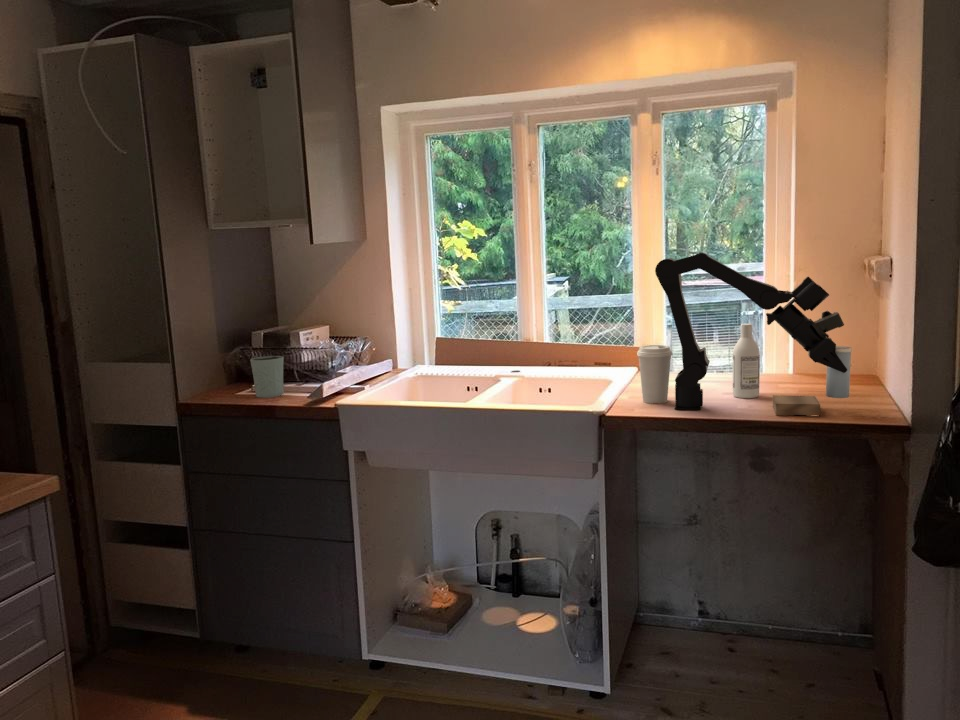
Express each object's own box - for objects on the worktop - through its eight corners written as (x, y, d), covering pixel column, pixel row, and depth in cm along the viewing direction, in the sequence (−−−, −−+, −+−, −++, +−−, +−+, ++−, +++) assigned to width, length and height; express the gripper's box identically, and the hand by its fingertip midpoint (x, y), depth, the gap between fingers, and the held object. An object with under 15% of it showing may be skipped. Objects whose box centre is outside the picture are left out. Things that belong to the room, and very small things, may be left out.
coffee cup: (666, 405, 205) (666, 350, 203) (632, 403, 210) (631, 348, 208) (677, 398, 213) (677, 345, 211) (644, 396, 218) (643, 344, 216)
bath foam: (764, 396, 211) (765, 323, 208) (746, 399, 208) (747, 326, 205) (744, 392, 217) (745, 322, 214) (727, 395, 214) (727, 324, 211)
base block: (775, 415, 189) (776, 403, 188) (772, 406, 198) (772, 395, 198) (820, 416, 186) (820, 404, 186) (814, 407, 195) (815, 395, 195)
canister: (827, 397, 188) (828, 349, 186) (824, 393, 193) (825, 346, 191) (851, 398, 186) (853, 349, 184) (847, 394, 191) (849, 346, 189)
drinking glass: (249, 398, 241) (245, 360, 239) (259, 392, 251) (256, 355, 249) (281, 397, 241) (278, 359, 239) (290, 391, 251) (287, 354, 249)
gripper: (826, 304, 178) (878, 352, 176) (819, 298, 196) (865, 341, 194) (789, 338, 182) (839, 385, 180) (785, 328, 199) (830, 371, 198)
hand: (844, 369), depth 188 cm, fingers closed on canister, 5 cm apart
